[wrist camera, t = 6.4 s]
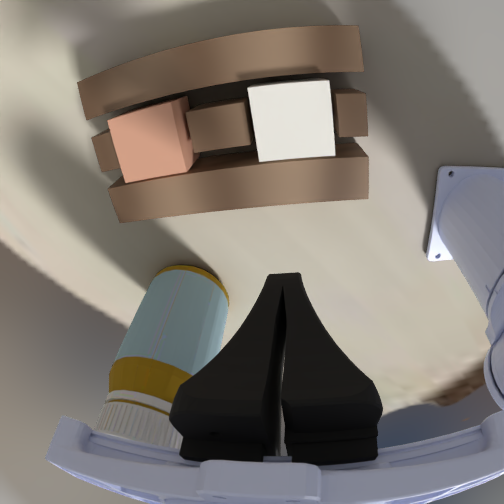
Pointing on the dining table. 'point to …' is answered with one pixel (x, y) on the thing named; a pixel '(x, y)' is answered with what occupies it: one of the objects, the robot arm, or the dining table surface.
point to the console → (235, 123)
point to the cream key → (292, 119)
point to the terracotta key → (153, 140)
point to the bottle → (163, 354)
